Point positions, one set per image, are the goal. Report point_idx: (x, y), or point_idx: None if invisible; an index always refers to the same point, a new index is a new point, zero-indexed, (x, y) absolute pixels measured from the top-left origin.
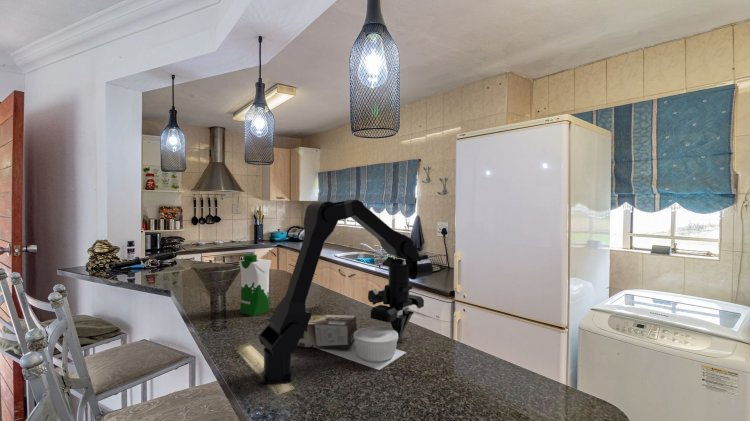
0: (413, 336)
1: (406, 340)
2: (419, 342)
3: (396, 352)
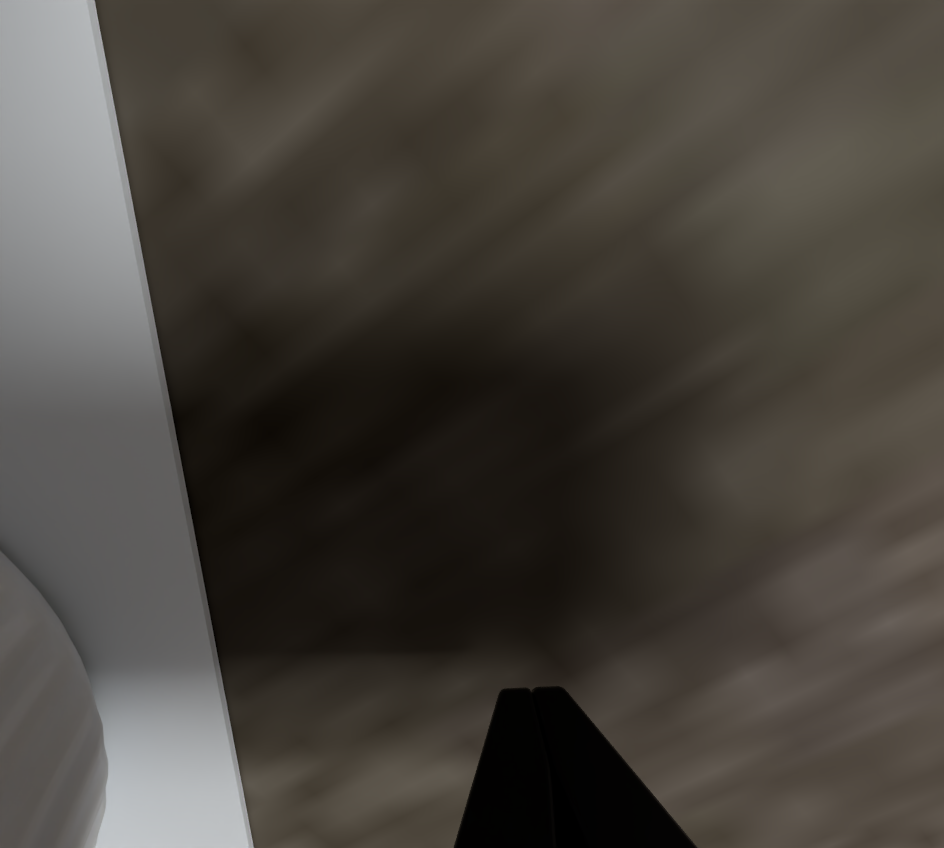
0: (911, 684)
1: (684, 692)
2: (712, 841)
3: (142, 838)
